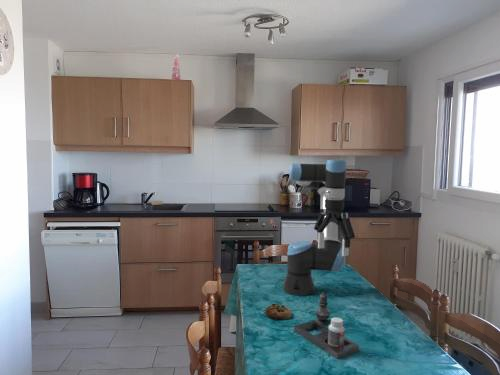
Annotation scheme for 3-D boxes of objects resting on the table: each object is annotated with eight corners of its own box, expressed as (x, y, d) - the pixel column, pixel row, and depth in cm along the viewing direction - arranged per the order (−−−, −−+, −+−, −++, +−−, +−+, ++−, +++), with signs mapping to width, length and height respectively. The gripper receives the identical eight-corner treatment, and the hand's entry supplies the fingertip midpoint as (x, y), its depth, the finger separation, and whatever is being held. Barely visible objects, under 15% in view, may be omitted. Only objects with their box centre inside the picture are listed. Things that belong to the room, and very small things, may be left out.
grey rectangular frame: (293, 331, 139) (294, 326, 139) (314, 325, 144) (314, 320, 144) (336, 359, 120) (337, 353, 120) (358, 351, 126) (359, 345, 126)
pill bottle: (342, 353, 124) (343, 324, 123) (326, 349, 126) (327, 321, 125) (345, 345, 129) (346, 318, 128) (329, 342, 131) (330, 315, 130)
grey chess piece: (321, 326, 144) (322, 295, 143) (311, 319, 149) (312, 290, 148) (333, 323, 147) (334, 293, 146) (323, 317, 152) (324, 288, 151)
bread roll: (260, 317, 150) (262, 305, 150) (269, 311, 161) (270, 299, 161) (287, 323, 146) (289, 310, 146) (294, 316, 157) (295, 304, 157)
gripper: (306, 196, 157) (305, 246, 159) (351, 202, 136) (349, 260, 138) (320, 195, 161) (318, 244, 163) (366, 202, 140) (363, 257, 142)
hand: (332, 251), depth 150 cm, fingers open, 13 cm apart
